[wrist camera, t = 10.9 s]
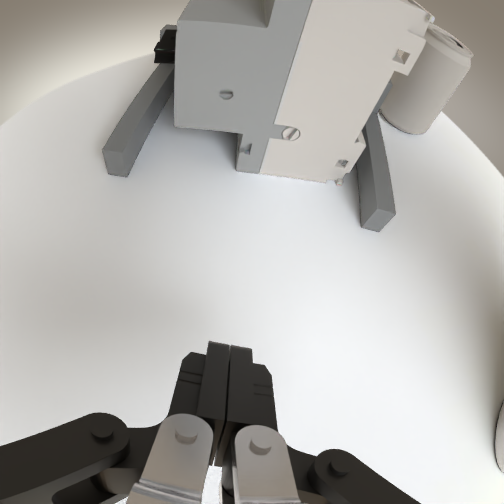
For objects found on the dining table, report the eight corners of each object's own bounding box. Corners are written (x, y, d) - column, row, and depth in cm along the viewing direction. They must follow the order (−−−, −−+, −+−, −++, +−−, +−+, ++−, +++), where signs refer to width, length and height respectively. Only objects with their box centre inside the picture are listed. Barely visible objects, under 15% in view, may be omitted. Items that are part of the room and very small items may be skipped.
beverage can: (432, 142, 30) (487, 65, 19) (390, 135, 28) (447, 43, 18) (407, 105, 32) (451, 31, 22) (366, 96, 31) (409, 11, 20)
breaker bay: (364, 122, 28) (392, 71, 23) (378, 232, 22) (428, 177, 16) (165, 77, 27) (167, 18, 21) (108, 174, 20) (91, 101, 15)
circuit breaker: (169, 102, 25) (179, -61, 12) (327, 123, 27) (390, -18, 14) (151, 164, 22) (145, -46, 8) (341, 185, 24) (438, 19, 10)
